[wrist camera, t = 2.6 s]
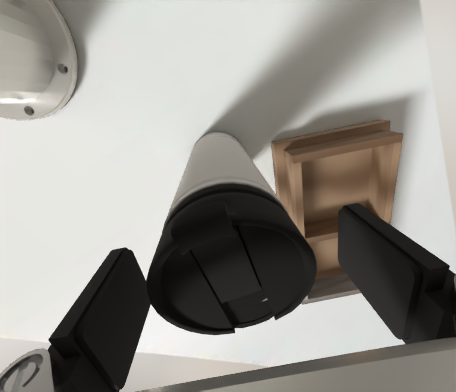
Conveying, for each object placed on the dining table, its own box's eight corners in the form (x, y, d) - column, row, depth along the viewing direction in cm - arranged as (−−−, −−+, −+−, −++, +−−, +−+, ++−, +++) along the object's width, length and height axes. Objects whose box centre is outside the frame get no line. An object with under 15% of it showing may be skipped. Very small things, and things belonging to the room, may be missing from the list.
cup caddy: (271, 142, 25) (282, 150, 21) (380, 119, 25) (413, 123, 21) (285, 285, 35) (295, 309, 30) (365, 269, 34) (386, 291, 30)
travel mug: (233, 120, 24) (306, 179, 6) (250, 173, 27) (339, 331, 8) (181, 140, 24) (92, 255, 6) (203, 190, 27) (188, 376, 9)
